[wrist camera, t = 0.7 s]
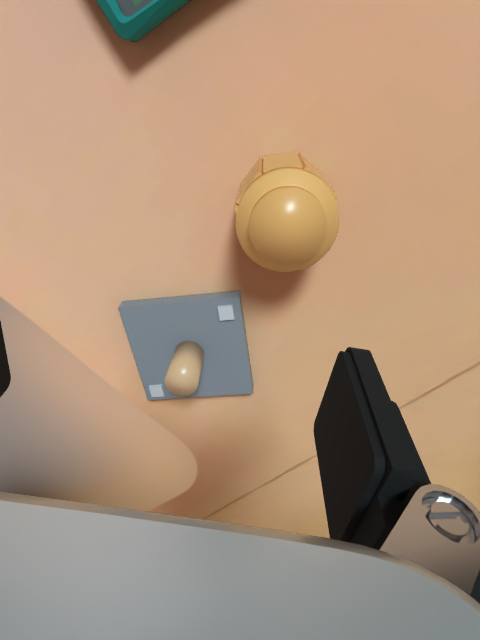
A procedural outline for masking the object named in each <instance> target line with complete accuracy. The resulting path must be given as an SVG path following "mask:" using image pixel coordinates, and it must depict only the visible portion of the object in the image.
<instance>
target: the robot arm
mask: <svg viewBox="0 0 480 640" xmlns="http://www.w3.org/2000/svg"><path fill="white" fill-rule="evenodd" d="M10 379H11V377H10V370H9V365H8V359H7V354H6V349H5V343H4V338H3V333H2V328H1V322H0V397H1V396H2V395H3V393H4V392H5V391H6V390H7V388H8V386H9V384H10ZM314 437H315V444H316V450H317V457H318V463H319V470H320V476H321V482H322V489H323V495H324V502H325V508H326V515H327V521H328V528H329V534H330V539H329V538H324V537H318V536H311V535H305V534H299V533H292V532H286V531H280V530H273V529H267V528H260V527H254V526H246V525H239V524H232V523H225V522H218V521H210V520H203V519H196V518H189V517H182V516H175V515H167V514H160V513H153V512H146V511H138V510H131V509H123V508H116V507H108V506H101V505H94V504H85V503H78V502H71V501H64V500H56V499H48V498H41V497H33V496H26V495H18V494H11V493H2V492H0V640H480V511H479V510H478V509H477V508H476V507H475V506H474V505H473V504H472V503H471V502H470V501H469V500H468V499H466V498H465V497H464V496H463V495H461V494H460V493H458V492H456V491H454V490H452V489H450V488H448V487H444V486H441V485H434V484H431V482H430V480H429V478H428V475H427V473H426V471H425V468H424V466H423V464H422V461H421V459H420V457H419V454H418V452H417V450H416V447H415V445H414V443H413V440H412V438H411V436H410V433H409V431H408V429H407V426H406V424H405V422H404V419H403V417H402V415H401V412H400V410H399V408H398V406H397V404H396V403H395V402H393V401H391V400H390V397H389V395H388V393H387V390H386V388H385V385H384V383H383V381H382V378H381V376H380V373H379V371H378V369H377V366H376V364H375V361H374V359H373V357H372V354H371V352H370V351H369V350H364V349H358V348H351V347H348V348H347V349H346V351H345V352H343V351H340V352H339V354H338V356H337V359H336V362H335V365H334V367H333V370H332V373H331V376H330V379H329V382H328V385H327V388H326V391H325V393H324V396H323V399H322V402H321V405H320V408H319V411H318V414H317V416H316V419H315V423H314Z"/></svg>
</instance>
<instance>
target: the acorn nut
mask: <svg viewBox="0 0 480 640" xmlns="http://www.w3.org/2000/svg"><path fill="white" fill-rule="evenodd" d="M235 211H236V232H237V237H238V240H239V243H240V245H241V247H242V249H243V250H244V252H245V253H246V254H247V255H248V256H249V258H250V259H252V260H253V261H254V262H255V263H257V264H258V265H260V266H262V267H264V268H266V269H269V270H272V271H277V272H293V271H298V270H302V269H305V268H307V267H309V266H311V265H313V264H315V263H316V262H317V261H319V260H320V259H321V258H322V257H323V256H324V255H325V254H326V253H327V252H328V251H329V249H330V248H331V246H332V245H333V243H334V241H335V239H336V236H337V233H338V228H339V210H338V205H337V203H336V194H335V192H334V189H333V188H332V186H331V185H330V183H329V182H328V180H327V179H326V177H325V176H324V174H323V173H322V172H321V171H319V170H318V169H317V168H316V167H315V166H314V165H313V164H312V163H310V162H309V161H308V160H307V159H306V158H305V157H304V156H303V155H301V154H300V153H299V154H298V155H297V153H296V152H290V153H282V154H274V155H267V156H263V160H262V159H261V158H260V159H259V160H258V161H257V163H256V164H255V165H254V167H253V168H252V169H251V171H250V172H249V173H248V175H247V176H246V177H245V179H244V180H243V181H242V183H241V184H240V188H239V191H238V195H237V200H236V204H235Z"/></svg>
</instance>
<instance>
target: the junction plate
mask: <svg viewBox="0 0 480 640" xmlns="http://www.w3.org/2000/svg"><path fill="white" fill-rule="evenodd" d="M118 309H119V312H120V315H121V318H122V321H123V325H124V328H125V331H126V334H127V337H128V340H129V343H130V346H131V349H132V352H133V355H134V359H135V362H136V365H137V368H138V371H139V374H140V377H141V380H142V383H143V386H144V389H145V393H146V396H147V399H148V400H160V399H176V398H192V397H208V396H225V395H241V394H253V379H252V372H251V365H250V358H249V351H248V344H247V337H246V330H245V323H244V316H243V309H242V302H241V295H240V291H231V292H220V293H209V294H198V295H187V296H176V297H165V298H154V299H143V300H132V301H123V302H122V303H121V305H120V306H119V308H118Z"/></svg>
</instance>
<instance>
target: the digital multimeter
mask: <svg viewBox="0 0 480 640" xmlns="http://www.w3.org/2000/svg"><path fill="white" fill-rule="evenodd" d="M96 1H97V2H98V4H99V6H100V7H101V9H102V11H103V12H104V14H105V15H106V17H107V18H108V20H109V22H110V23H111V25H112V26H113V28H114V30H115V31H116V33H117V34H118V35H119V36H120V37H121V38H124V39H126V40H129V41H132V42H135V41H138V40H139V39H140V38H142V37H143V36H144V35H145V34H147V33H148V32H149V31H151V30H152V29H153V28H155V27H156V26H157V25H159V24H160V23H161V22H162V21H164V20H165V19H166V18H168V17H169V16H170V15H172V14H173V13H174V12H176V11H177V10H178V9H179V8H181V7H182V6H183V5H185V4H186V3H187V2H189V1H190V0H96ZM119 6H120V7H119ZM120 8H121V9H120ZM121 10H122V11H121ZM122 12H123V13H122Z"/></svg>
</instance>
